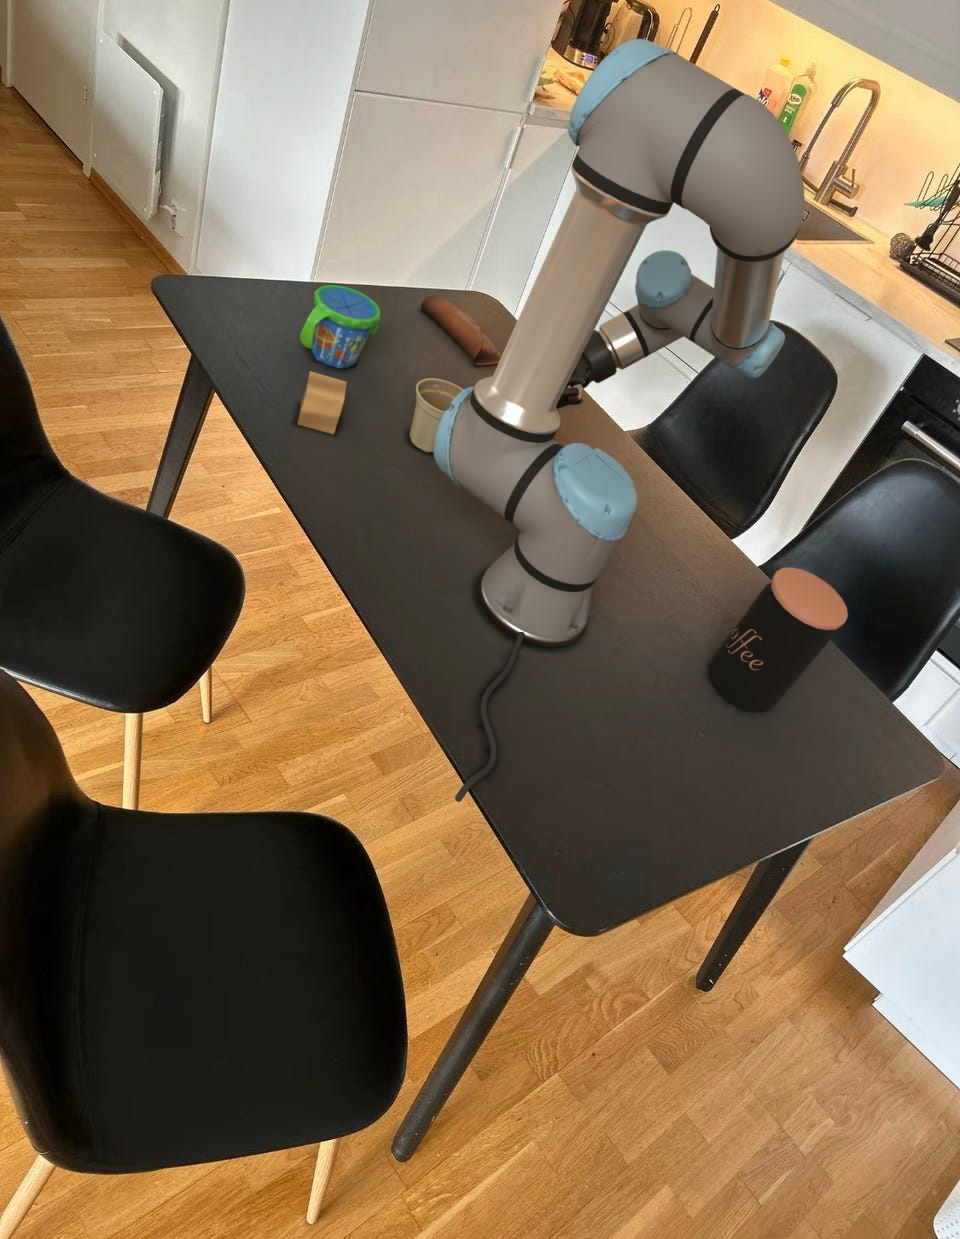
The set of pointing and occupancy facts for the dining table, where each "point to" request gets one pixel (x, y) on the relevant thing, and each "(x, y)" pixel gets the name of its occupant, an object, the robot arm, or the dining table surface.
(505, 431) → the robot arm
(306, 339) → the snack cup
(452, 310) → the sunglasses case
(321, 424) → the maple block
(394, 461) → the dining table surface
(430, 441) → the flower pot
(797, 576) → the coffee jar
